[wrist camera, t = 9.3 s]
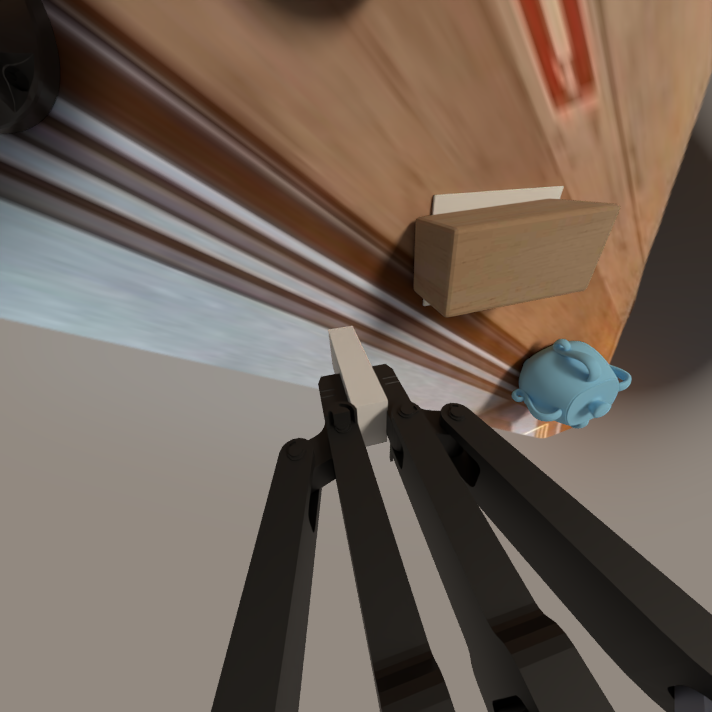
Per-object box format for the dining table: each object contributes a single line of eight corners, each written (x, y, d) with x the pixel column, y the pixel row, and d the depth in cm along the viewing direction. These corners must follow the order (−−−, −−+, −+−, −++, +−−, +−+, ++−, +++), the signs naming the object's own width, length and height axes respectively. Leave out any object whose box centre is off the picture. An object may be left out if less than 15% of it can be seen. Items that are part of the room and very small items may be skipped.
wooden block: (412, 290, 40) (530, 269, 43) (444, 319, 32) (587, 291, 35) (414, 216, 35) (550, 197, 37) (454, 229, 26) (624, 203, 29)
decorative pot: (590, 349, 58) (662, 390, 47) (535, 402, 64) (587, 449, 53) (551, 321, 51) (626, 361, 40) (493, 384, 57) (544, 433, 46)
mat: (433, 195, 34) (435, 195, 34) (561, 185, 37) (563, 186, 37) (422, 305, 42) (423, 306, 42) (527, 290, 45) (528, 291, 45)
